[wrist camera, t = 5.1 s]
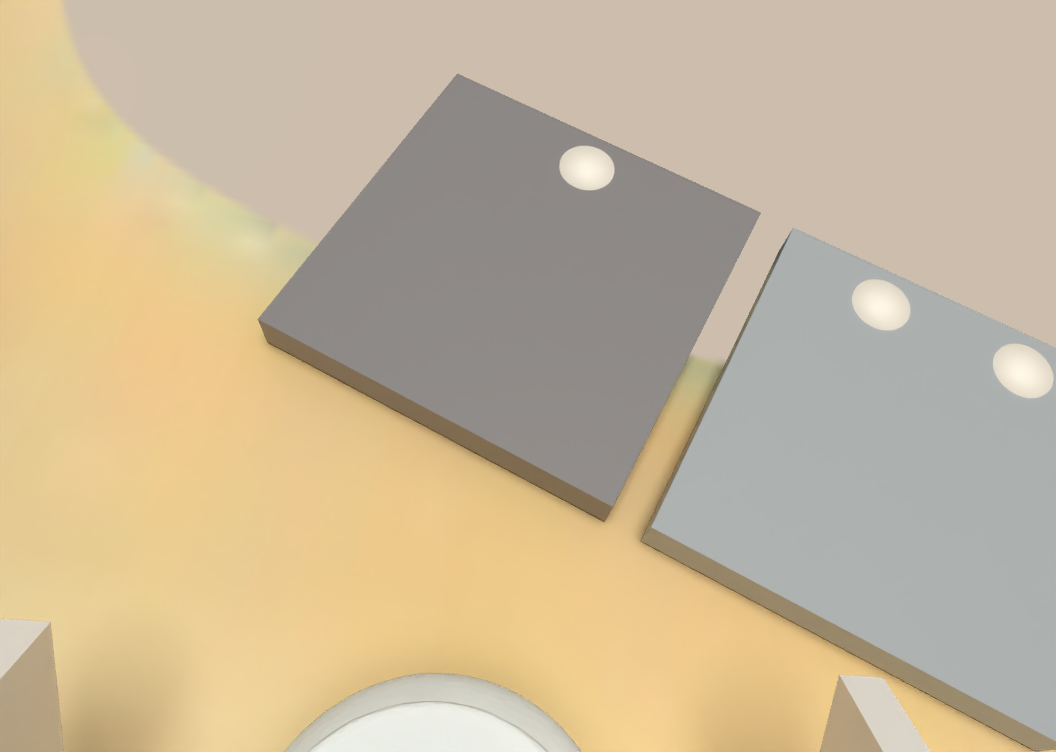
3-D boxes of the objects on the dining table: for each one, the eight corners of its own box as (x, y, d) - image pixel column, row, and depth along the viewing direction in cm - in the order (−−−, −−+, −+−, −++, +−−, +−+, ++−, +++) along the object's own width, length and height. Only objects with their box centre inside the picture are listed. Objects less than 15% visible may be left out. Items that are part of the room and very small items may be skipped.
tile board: (267, 342, 22) (257, 318, 21) (457, 102, 26) (457, 72, 25) (1545, 1022, 17) (1619, 1038, 16) (1524, 598, 22) (1582, 587, 21)
